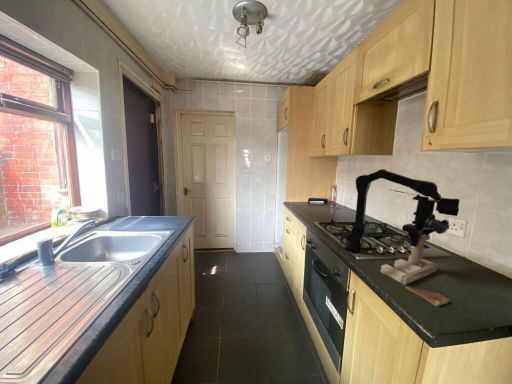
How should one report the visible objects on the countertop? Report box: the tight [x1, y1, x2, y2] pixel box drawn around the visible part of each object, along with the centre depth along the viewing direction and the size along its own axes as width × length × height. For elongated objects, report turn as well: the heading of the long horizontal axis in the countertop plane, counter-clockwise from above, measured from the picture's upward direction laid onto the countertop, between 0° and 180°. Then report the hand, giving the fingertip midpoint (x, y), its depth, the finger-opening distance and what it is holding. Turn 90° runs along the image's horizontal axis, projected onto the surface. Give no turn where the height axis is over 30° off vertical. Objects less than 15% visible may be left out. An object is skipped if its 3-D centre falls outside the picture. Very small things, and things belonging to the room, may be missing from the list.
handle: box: [410, 234, 431, 266], centre depth 95 cm, size 5×6×15 cm
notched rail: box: [380, 255, 438, 286], centre depth 93 cm, size 10×24×3 cm, turn 117°
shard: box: [404, 285, 450, 307], centre depth 78 cm, size 11×8×2 cm
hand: (418, 245), depth 95 cm, fingers closed on handle, 5 cm apart
